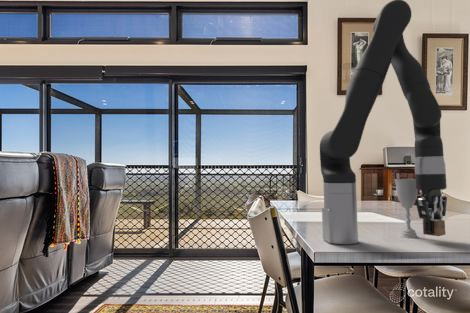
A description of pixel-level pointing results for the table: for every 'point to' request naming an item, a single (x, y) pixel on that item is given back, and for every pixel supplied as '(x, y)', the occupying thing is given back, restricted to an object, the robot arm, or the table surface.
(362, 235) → the table surface
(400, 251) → the table surface
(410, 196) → the chalice
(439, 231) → the walnut cube
